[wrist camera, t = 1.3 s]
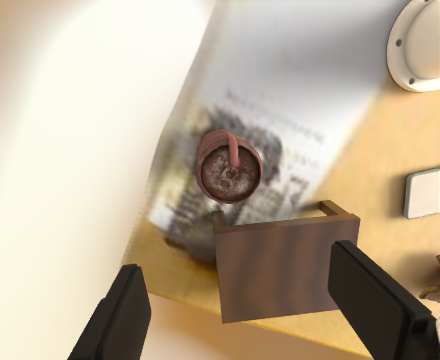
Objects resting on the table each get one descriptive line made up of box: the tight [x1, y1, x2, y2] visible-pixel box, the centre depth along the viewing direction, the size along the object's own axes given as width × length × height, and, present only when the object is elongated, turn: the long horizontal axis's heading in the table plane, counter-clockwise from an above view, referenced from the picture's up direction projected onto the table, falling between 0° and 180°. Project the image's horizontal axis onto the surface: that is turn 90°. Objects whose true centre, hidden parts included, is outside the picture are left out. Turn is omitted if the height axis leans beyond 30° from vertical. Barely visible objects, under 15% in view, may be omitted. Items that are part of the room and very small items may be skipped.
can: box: [195, 129, 263, 204], centre depth 25 cm, size 6×6×14 cm
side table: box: [213, 200, 360, 324], centre depth 34 cm, size 20×16×7 cm
